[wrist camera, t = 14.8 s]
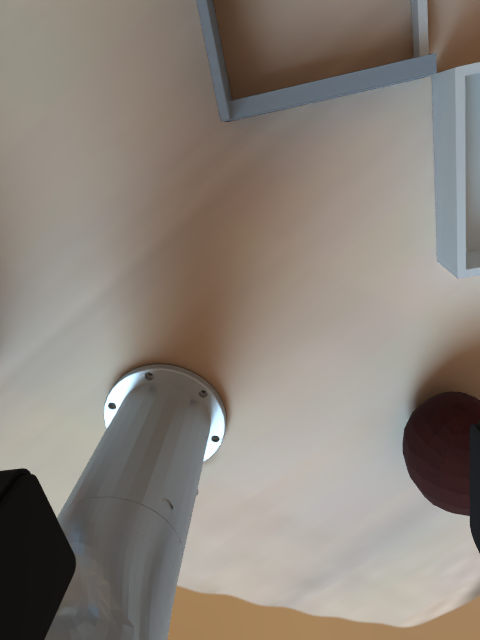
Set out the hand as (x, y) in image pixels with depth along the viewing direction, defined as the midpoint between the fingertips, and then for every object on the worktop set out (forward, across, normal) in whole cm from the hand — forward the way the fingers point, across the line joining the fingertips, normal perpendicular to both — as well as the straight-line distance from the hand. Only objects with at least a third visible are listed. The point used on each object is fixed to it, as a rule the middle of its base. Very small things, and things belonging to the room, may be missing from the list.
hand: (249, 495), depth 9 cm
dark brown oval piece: (+31, -13, +23) cm, 40 cm away
